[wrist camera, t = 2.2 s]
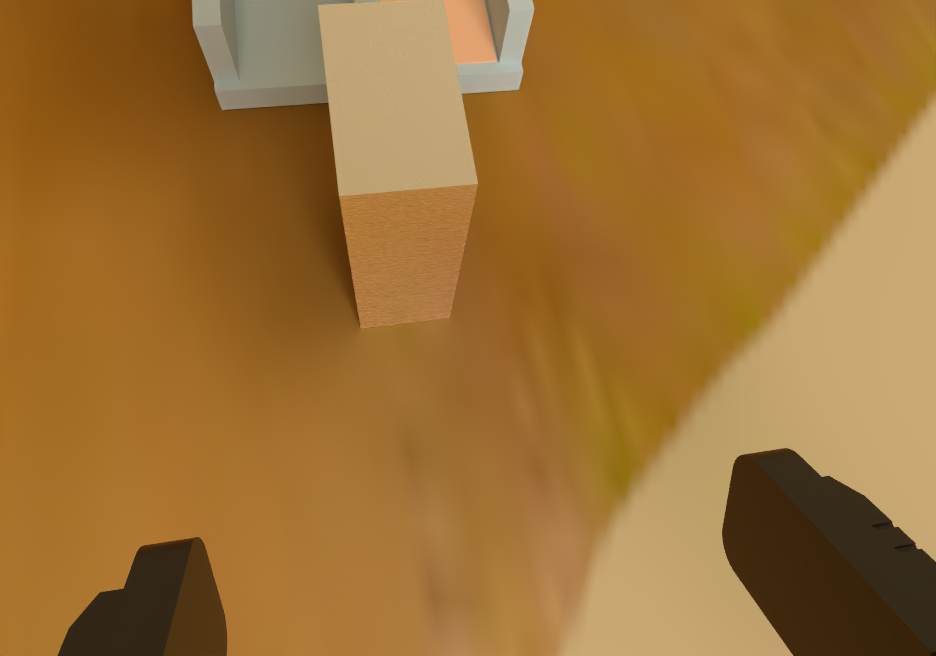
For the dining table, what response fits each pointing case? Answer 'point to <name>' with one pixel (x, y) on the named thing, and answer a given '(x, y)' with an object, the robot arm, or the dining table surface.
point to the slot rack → (301, 54)
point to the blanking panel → (399, 155)
